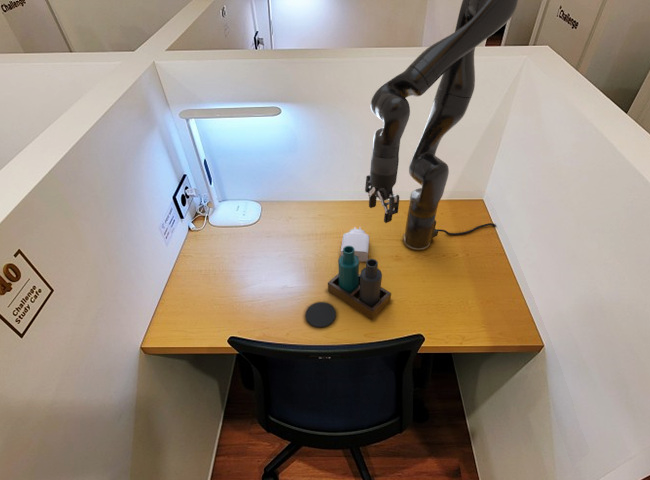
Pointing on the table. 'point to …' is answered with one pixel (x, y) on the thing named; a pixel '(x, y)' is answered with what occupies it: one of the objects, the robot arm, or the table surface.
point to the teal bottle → (348, 270)
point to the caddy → (353, 297)
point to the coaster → (320, 315)
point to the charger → (357, 243)
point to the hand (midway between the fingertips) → (379, 214)
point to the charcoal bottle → (370, 283)
